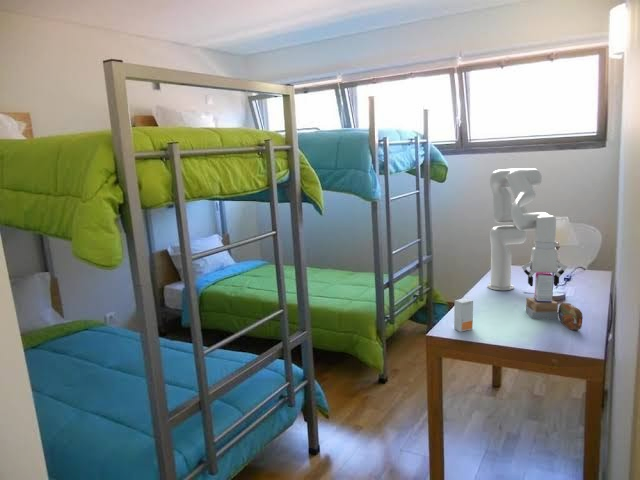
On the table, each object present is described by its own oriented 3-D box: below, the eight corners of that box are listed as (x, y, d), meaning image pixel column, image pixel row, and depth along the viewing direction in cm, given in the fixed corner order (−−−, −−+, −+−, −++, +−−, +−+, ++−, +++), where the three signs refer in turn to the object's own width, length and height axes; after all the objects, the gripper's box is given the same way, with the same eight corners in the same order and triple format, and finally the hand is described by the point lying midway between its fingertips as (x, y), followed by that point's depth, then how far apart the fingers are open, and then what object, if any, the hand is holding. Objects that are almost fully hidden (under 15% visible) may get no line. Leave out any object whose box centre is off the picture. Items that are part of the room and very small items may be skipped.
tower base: (525, 312, 209) (526, 304, 208) (550, 312, 208) (550, 304, 207) (532, 320, 199) (532, 312, 199) (557, 320, 198) (558, 312, 197)
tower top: (526, 305, 207) (526, 297, 207) (546, 304, 208) (547, 296, 207) (536, 312, 198) (536, 304, 198) (557, 311, 199) (558, 303, 198)
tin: (557, 319, 197) (558, 299, 196) (565, 319, 197) (566, 299, 196) (574, 333, 182) (576, 311, 181) (583, 333, 182) (584, 311, 181)
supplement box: (552, 302, 199) (553, 275, 197) (537, 302, 200) (537, 275, 198) (549, 298, 204) (549, 272, 202) (534, 298, 206) (534, 272, 204)
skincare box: (461, 332, 188) (461, 302, 186) (453, 328, 192) (454, 300, 190) (473, 329, 191) (473, 300, 189) (466, 326, 195) (466, 297, 192)
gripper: (564, 243, 200) (562, 283, 203) (520, 243, 203) (519, 282, 206) (570, 246, 192) (568, 288, 196) (524, 247, 195) (523, 287, 199)
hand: (543, 285), depth 201 cm, fingers open, 9 cm apart
